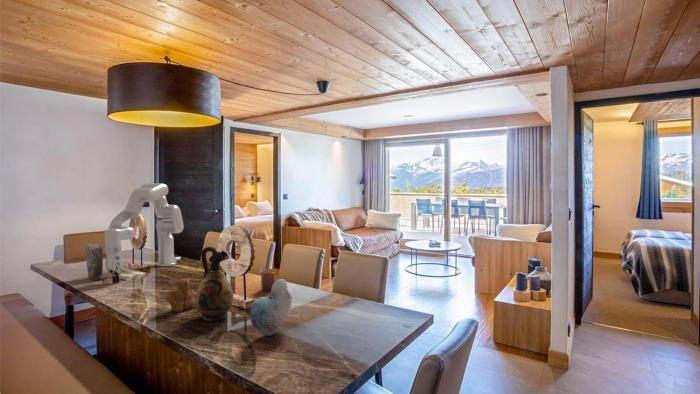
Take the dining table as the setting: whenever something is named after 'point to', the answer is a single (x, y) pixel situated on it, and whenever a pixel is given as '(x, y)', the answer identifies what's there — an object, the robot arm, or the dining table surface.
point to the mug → (267, 279)
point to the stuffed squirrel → (181, 296)
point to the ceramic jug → (214, 288)
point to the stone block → (94, 261)
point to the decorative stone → (271, 309)
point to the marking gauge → (109, 278)
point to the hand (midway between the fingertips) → (113, 281)
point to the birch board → (131, 274)
